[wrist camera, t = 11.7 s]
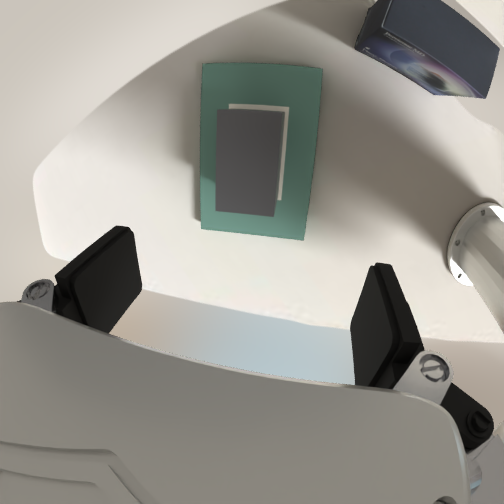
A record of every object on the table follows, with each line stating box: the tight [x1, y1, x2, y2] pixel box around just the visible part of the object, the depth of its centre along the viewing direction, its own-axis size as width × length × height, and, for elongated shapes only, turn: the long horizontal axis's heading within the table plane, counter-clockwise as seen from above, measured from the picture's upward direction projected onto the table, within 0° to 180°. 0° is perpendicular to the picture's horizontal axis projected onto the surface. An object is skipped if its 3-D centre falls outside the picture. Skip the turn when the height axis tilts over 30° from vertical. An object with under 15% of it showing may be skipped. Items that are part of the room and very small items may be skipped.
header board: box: [200, 63, 323, 241], centre depth 28 cm, size 12×19×2 cm, turn 177°
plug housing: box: [215, 109, 285, 217], centre depth 25 cm, size 5×9×6 cm, turn 177°
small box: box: [355, 0, 500, 99], centre depth 16 cm, size 11×6×10 cm, turn 71°
